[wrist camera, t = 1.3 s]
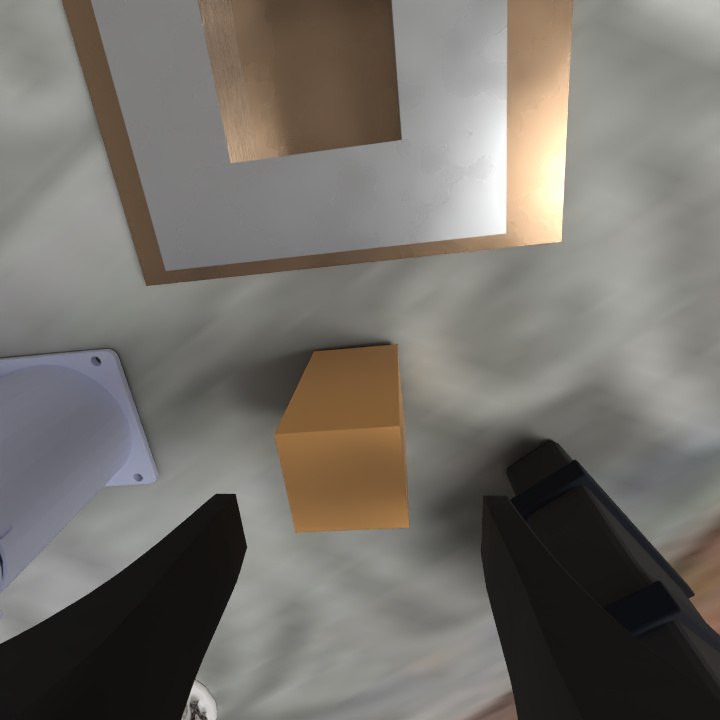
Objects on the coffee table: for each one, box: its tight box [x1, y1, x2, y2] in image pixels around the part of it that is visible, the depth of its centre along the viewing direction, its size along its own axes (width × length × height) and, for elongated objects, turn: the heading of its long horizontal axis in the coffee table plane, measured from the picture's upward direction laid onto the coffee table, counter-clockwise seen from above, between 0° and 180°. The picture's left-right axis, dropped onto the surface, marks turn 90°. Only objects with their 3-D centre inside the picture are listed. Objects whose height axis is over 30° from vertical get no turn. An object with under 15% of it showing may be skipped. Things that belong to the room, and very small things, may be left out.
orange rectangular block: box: [274, 344, 409, 532], centre depth 18 cm, size 4×4×8 cm
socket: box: [62, 0, 573, 286], centre depth 15 cm, size 18×14×4 cm
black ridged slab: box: [507, 441, 720, 700], centre depth 19 cm, size 4×13×15 cm, turn 43°
